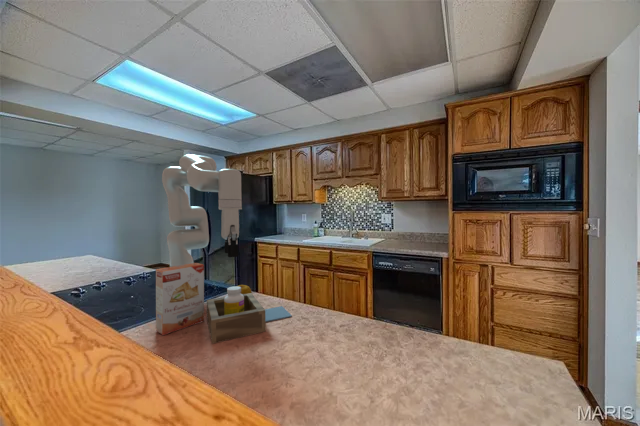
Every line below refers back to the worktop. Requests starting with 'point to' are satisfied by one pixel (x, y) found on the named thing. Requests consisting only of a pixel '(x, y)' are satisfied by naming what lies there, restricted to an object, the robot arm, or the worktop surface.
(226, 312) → the supplement bottle
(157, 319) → the cracker box
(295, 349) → the worktop surface
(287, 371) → the worktop surface
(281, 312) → the mat
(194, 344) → the worktop surface
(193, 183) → the robot arm
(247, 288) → the apple
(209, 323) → the box
